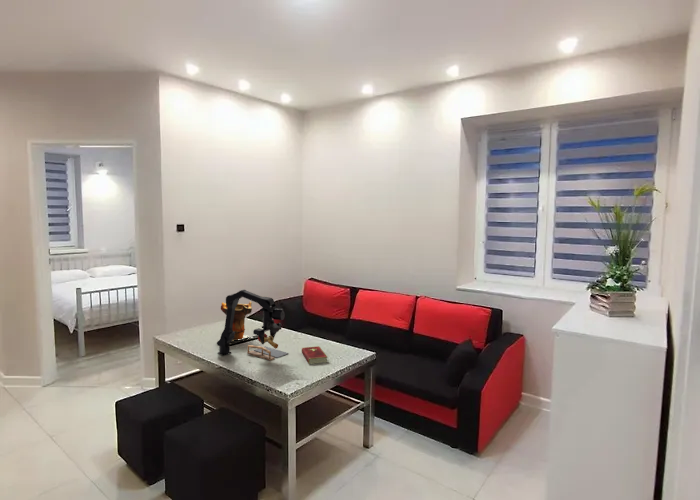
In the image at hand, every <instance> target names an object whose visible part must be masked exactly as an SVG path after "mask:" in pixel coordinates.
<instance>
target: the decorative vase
mask: <svg viewBox="0 0 700 500" xmlns="http://www.w3.org/2000/svg"><path fill="white" fill-rule="evenodd" d="M252 302H253V301H249V303H238V304H237V306H236V308H235V313H234V320H233V327H232V330H233V332H235V335H234V337H235V338H233V340H232V342H235V341H234V340H238V339H242V338H247V337H249V336H250V335H247V334H245V330H246V329H245V320H246V316H247V315H249V314H251V313H252V311H253V307H252ZM220 311H221V312H222V313H224V314H225V315H226V314H227V306H226V302H224V301H223V302H221V306H220ZM249 338H250V337H249Z"/></svg>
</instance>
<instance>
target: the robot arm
mask: <svg viewBox="0 0 700 500" xmlns="http://www.w3.org/2000/svg"><path fill="white" fill-rule="evenodd" d="M242 298H244V299H246V300H250V302H255V303H256V304H259V306H260V307H261V309H259V311H260V312H262V319H261V322H262V326H261V328H260V327H259V328H255V329H253V330H252V331H253V335H256V336H257V338H258V337H259V338H260V340H261V342H260V343H261V345H264V344H265V343H264V336H265V335H267V333H265V332H269V336H272V337H273V341H274V339H275V337H276V334H277V333H278V332H279V331H281V330H282V323H281V322H277V323H276V322H275V320H277V321H283V320H284V319H285V317H286V316H285V315H286V313H285V311H284V308H278V305H277V304H276V302H275V300H274V298H273V297H269V296H268V297H267V296H261V295H258V294H256V293H254V292H252V291H249V290H246V289H241V290H239V291H237V292H236V293H231V294H229V295H226V297H225V303H226V306H227V314H225V322H224V329H223V331H222V332H221V333H220V338H219V340H217V342H216V345H217V346H218V347H219V349H218V350H219V351H218V352H217V353H216V354H218V355H220V356H227V355H230V354H232V352H231V350H230V348H231V347H230V344H231V343H232V342H233V341H232V340H233V338H235V337H234V335H235V332H233V330H232V327H233V320H234V313H235V308H236V306H237V304H239V301H240V299H242ZM264 333H265V334H264Z"/></svg>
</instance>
